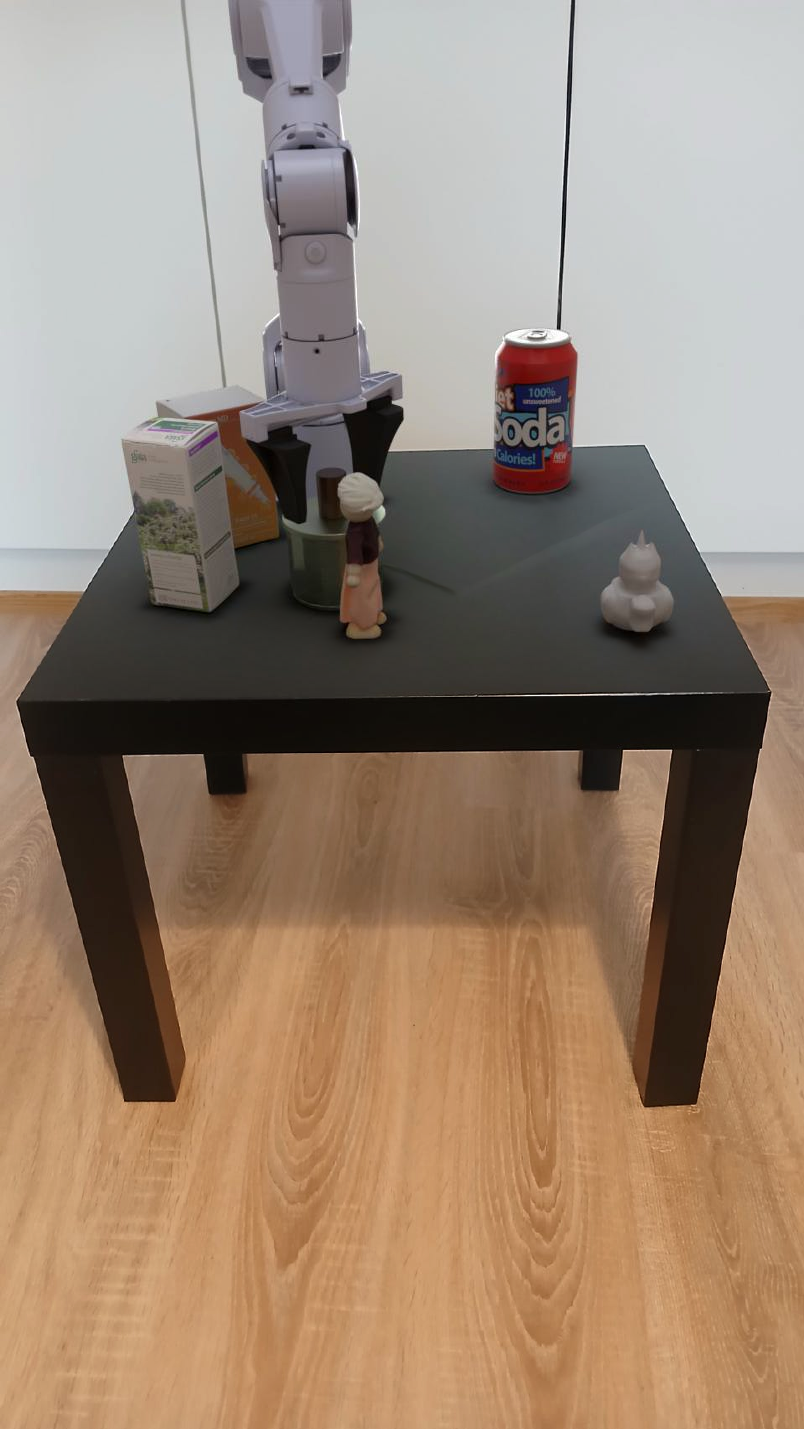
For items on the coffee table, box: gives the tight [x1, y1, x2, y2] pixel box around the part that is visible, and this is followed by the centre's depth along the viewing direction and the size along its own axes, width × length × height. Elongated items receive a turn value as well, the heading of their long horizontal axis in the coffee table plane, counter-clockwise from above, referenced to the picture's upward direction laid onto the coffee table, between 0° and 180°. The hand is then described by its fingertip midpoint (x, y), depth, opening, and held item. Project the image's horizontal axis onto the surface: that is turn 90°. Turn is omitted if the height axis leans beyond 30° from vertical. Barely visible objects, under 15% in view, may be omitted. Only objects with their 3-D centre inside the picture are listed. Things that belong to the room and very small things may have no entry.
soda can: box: [492, 327, 579, 495], centre depth 104 cm, size 8×8×15 cm
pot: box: [285, 527, 384, 612], centre depth 88 cm, size 8×8×6 cm
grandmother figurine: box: [338, 472, 387, 640], centre depth 80 cm, size 8×4×13 cm, turn 178°
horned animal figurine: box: [600, 529, 675, 633], centre depth 80 cm, size 5×7×8 cm
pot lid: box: [281, 467, 387, 541], centre depth 85 cm, size 8×8×5 cm
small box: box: [155, 384, 280, 549], centre depth 96 cm, size 8×6×13 cm
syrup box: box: [120, 416, 240, 613], centre depth 85 cm, size 6×6×14 cm
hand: (332, 506), depth 85 cm, fingers open, 7 cm apart
